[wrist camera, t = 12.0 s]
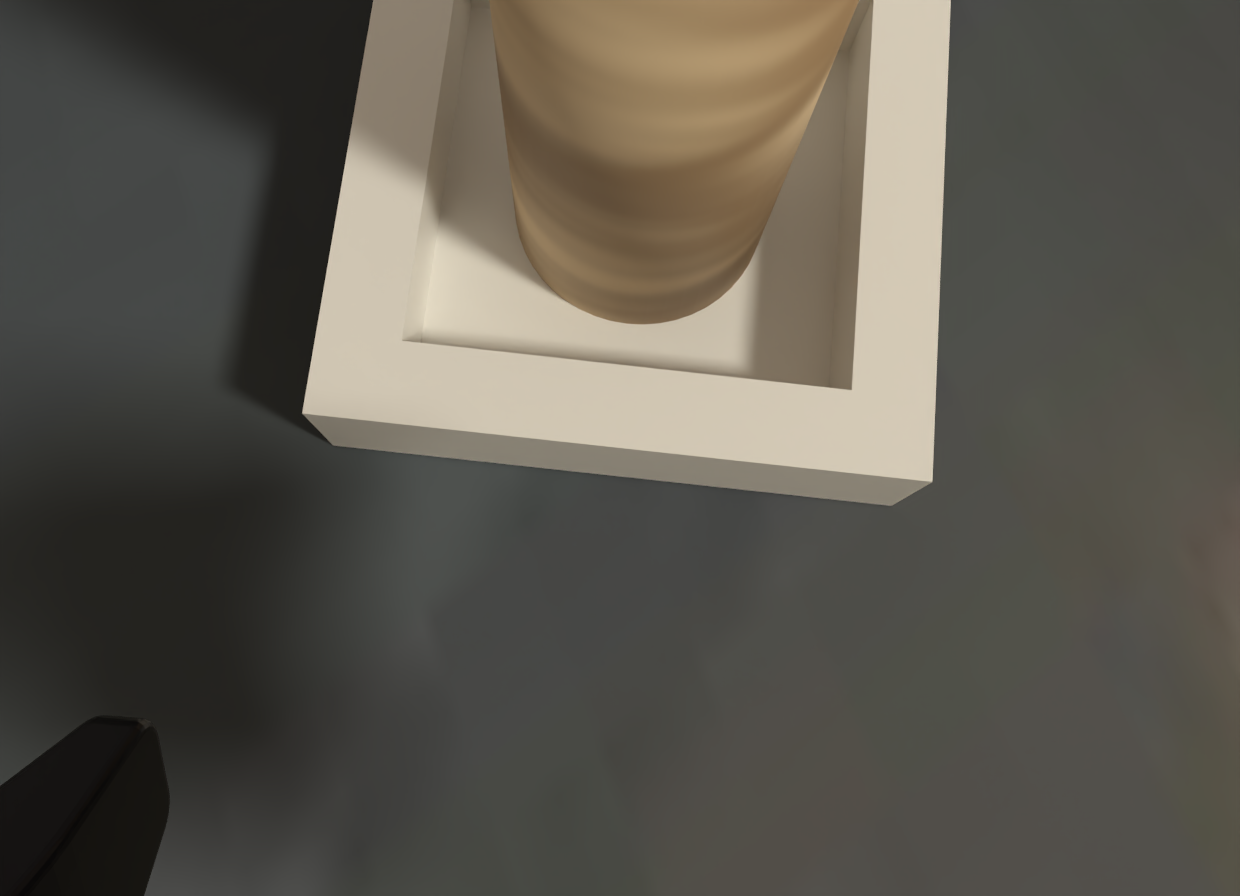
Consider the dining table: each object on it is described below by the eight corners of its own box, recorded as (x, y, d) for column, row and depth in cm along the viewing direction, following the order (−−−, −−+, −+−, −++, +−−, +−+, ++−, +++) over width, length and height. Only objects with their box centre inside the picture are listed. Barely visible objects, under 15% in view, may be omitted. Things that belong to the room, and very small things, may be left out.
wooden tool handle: (622, 373, 21) (694, -102, 8) (464, 186, 22) (314, -512, 9) (812, 226, 22) (1140, -409, 9) (655, 50, 23) (761, -760, 10)
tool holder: (891, 505, 21) (932, 481, 19) (333, 445, 21) (301, 413, 19) (913, 13, 24) (953, -64, 21) (413, -46, 24) (395, -130, 21)
